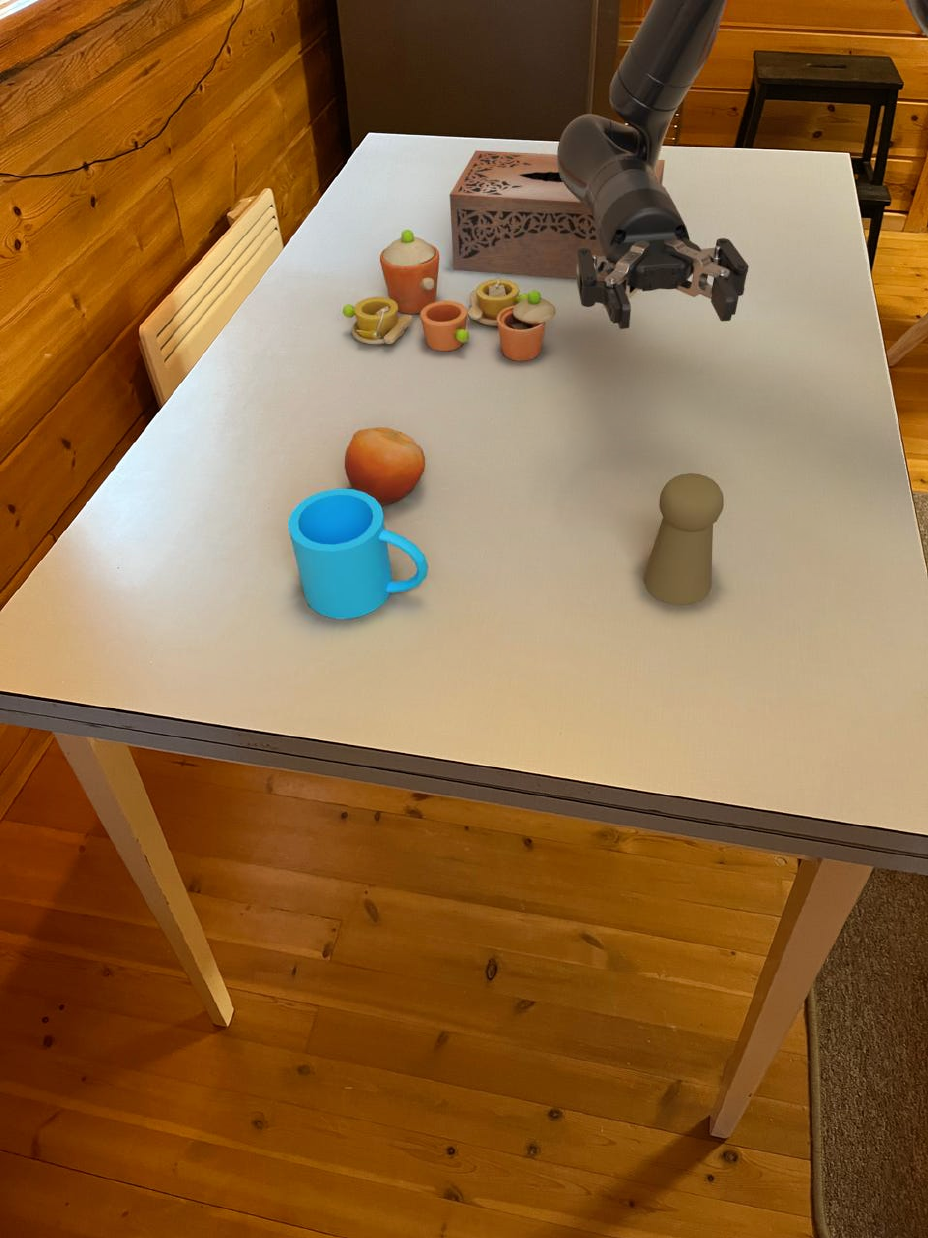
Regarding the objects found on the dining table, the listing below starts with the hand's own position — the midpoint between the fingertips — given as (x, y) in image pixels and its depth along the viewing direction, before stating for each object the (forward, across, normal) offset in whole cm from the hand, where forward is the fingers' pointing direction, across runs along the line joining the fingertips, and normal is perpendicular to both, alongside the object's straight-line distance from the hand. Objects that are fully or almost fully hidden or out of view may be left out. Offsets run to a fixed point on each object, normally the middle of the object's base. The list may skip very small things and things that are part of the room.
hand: (677, 314), depth 76 cm
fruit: (-5, -26, +20) cm, 33 cm away
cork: (+11, 0, +20) cm, 23 cm away
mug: (+9, -28, +20) cm, 36 cm away
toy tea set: (-36, -17, +20) cm, 45 cm away
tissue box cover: (-54, -2, +20) cm, 58 cm away
